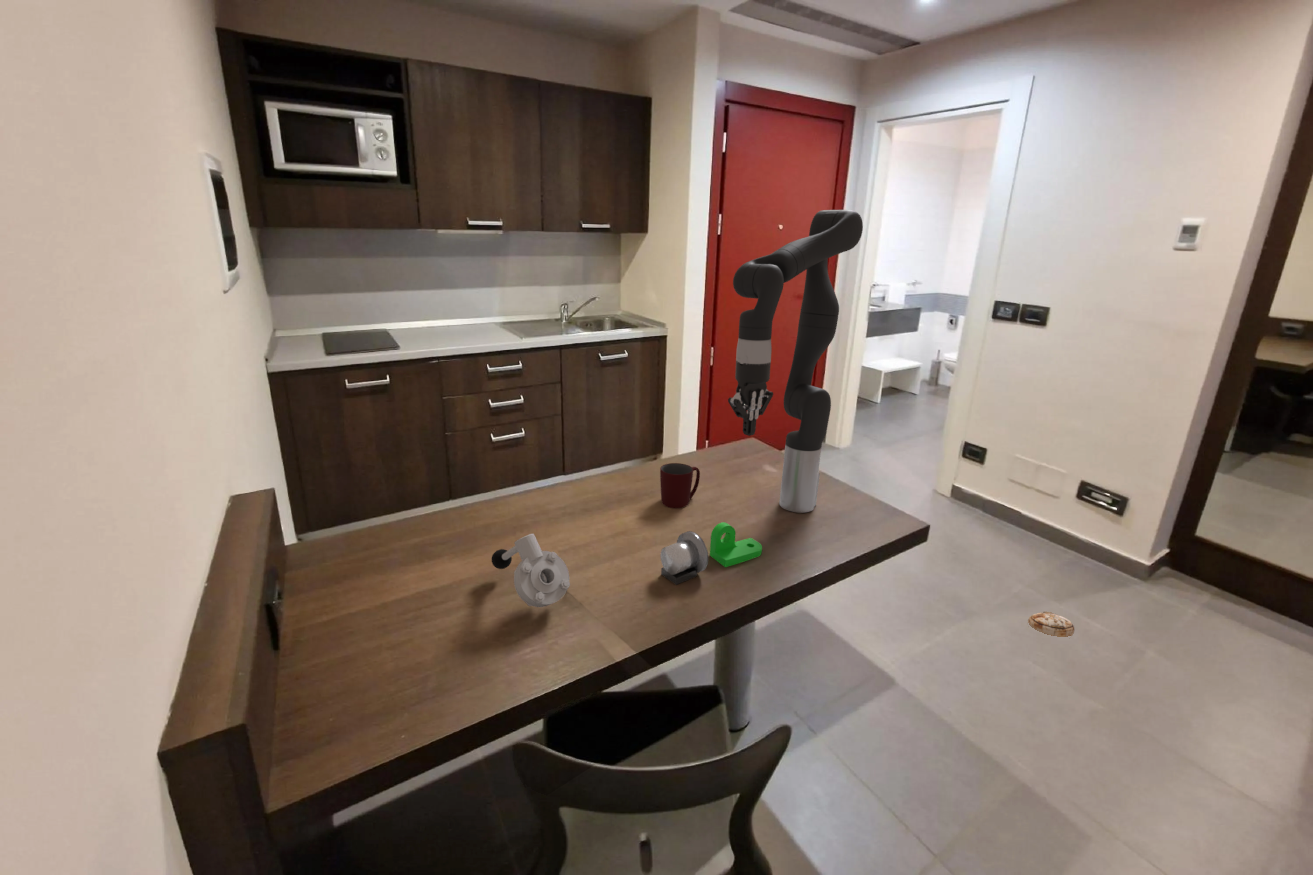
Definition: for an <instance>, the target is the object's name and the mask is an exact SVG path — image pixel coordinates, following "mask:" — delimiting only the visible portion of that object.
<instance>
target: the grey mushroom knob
mask: <svg viewBox="0 0 1313 875" xmlns="http://www.w3.org/2000/svg"><path fill="white" fill-rule="evenodd" d="M660 561H661V565H662V567H661V568H660V574H661V576H663V577H664V578H665V579H667V580H669V582H671V583H672V584H674V585H676V586H677V585H679V584H681V583H684V582H686V581H689V580H691V579H694V578H696V577H697V576H698V575H697V574H699V573H701V572H704V571H705V570H706V569H707V566H708V564H709V552H708V548H707V546H706V543H705V541H704V540H703V538H702V537H701V536H700V535H699V534H698V533H696V532H695V531H691V530H689V531H685V532H682V533H681V534H680V535H679V536H678V537H677V540H676V542H675V543H672V544H670V545H667V546H664V547H662V548H661V551H660Z"/></svg>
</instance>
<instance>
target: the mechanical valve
mask: <svg viewBox="0 0 1313 875" xmlns="http://www.w3.org/2000/svg"><path fill="white" fill-rule="evenodd" d="M516 554H518V555H519V558H520V559H521V561H520V562H519V563H518V565H517V566H516V568H515V570H514V572H513V585H514V590H515V592H516V594H517V596H519V599H521V601H523V602H524V603H526V604H527V606H528V607H535V608H544V607H547V606H550V605H553V604H554V603H557V602H558V601H560V600H561V599H562V598H563V597H564V596H565V595H566V593H567V591H568V589H569V587H570V586H571V583H570V572H569V568H568V566H567V565H566V563H565V561H564V560H563V559H562V558H561V557H560V556H559V555H558V554H557V553H556V552H555V551H548V550H542V548H541V547H540V544H539V542H538V539H537V538H536V536H535V533H529V534H527V535H525V536H523V537H520V538H518V539H517V540H515V541H514V545H513V547H511V548H510V549H508V550H507V549H503V548H500V549H498V550H496V551H494V552H493V554H492V555H491V563H492V566H494V568H496V569H498V570H503V569H507V568H508V567H509V566H510V565H511V563H512V559H513V558H512V557H513V556H514V555H516Z"/></svg>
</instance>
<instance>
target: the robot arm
mask: <svg viewBox="0 0 1313 875" xmlns="http://www.w3.org/2000/svg"><path fill="white" fill-rule="evenodd" d="M863 227H864V224H863V219H862V216H861V214H859V213H858V212H857V211H855V210H852V209H824V210H823V209H821V210H819V211H818V212H816V214H814V216H813V218H812V220H811V223H810V228H809V234H808V236H806V237H802V238H798V239H797V240H796V239H795V240H792V241H790V242H789V243H786V244H785V245H782V246H781V247H779V248H778V249H776V250H775V251H773V252H772V253H770V254H767V255H763V256H760V257H757V258H754V259H751V260H749V261H747V262H745V263H743V264H742V265H740V266H739V267H738V269H737V270H736V271H735V273H734V275H733V280H732V286H733V289H734V291H735V292H736V294H737V295H738V296H740V297H743V298H746V299H757V302H756V304H755V307H754V308H753V309H746V310H743V311H742V312H741V313H740V315H739V322H738V336H737V337H738V339H737V340H738V341H737V345H736V354H735V355H736V356H735V357H736V358H735V371H734V373H735V375H734V376H735V377H734V378H735V380H736V381H737V386H736V388H735V394H734V395H733V397H732V396H731V397H729V398H728V399H727V402H728V404H729V406H730V407H731V410H732V412H733V413H734V414H735V416H736V417H737V418H740V419H742V433H743V435H745V436H748V437H751V436H754V435H755V434H756V430H757V420H758V419H759V416H763V415H764V413H765V411H766V410H767V408H768V406H769V404H770V403H771V400H772V398H773V396H774V392H773V391H770V390H769V389H767V387H768V385H767V383H768V382H769V381H770V378H771V365H772V363H771V362H772V349H773V348H772V334H773V333H772V332H773V320H774V317H775V314H776V311H777V308H778V304H779V301H780V299H781V295H782V293H783V290H784V285H785V284H784V283H787V282H789V281H792V280H793V279H794V278H796V277H797V276H798V275H800V274H801V273H803V272H805V271H806V272H805V273H806V274H805V280H804V287H803V288H804V290H803V296H802V301H801V307H800V313H799V319H798V324H797V334H796V340H795V345H794V346H795V347H794V350H793V351H794V353H793V357H792V364H791V366H790V372H789V375H788V378H787V383H786V386H785V391H784V395H783V409H784V411H785V413H786V415H788V416H789V417H790V418H791V417H792V418H795V419H797V420H799V421H800V424H799V429H798V430H793V431H790V432H788V433H786V437H785V443H784V444H785V447H784V454H783V455H784V456H783V465H782V475H781V483H780V494H779V502H778V503H779V506H780V507H781V508H782V509H784V510H786V511H789V512H794V513H809V512H812V511H813V510H814V509H815V506H817V499H818V491H819V483H820V476H821V473H820V472H819V471H820V464H821V463H820V462H821V461H820V460H821V453H822V447H823V442H824V440H825V438H826V436H827V435H826V434H827V432H828V431H827V430H828V425H829V421H830V415H831V414H830V413H831V409H832V408H831V407H832V398H831V395H830V394H829V392H828V391H827V390H826V389H823V388H821V387H817V386H814V385H812V383H813V382H812V381H813V376H814V372H815V367H816V365H817V363H818V361H819V359H821V356H822V355H823V354H824V353H825V352H826V350H827V348H828V347H829V346H830V345H831V343H832V341H833V340H834V338H835V335H836V332H837V327H838V322H839V314H840V305H839V301H838V297H837V295H836V292H835V290H834V288H833V287H834V286H833V285H832V282H831V279H830V276H829V272H828V271H829V270H828V264H829V263H828V262H829V261H828V260H829V259H830V258H832V257H835V256H837V255H840V254H842V253H846V252H849V251H850V250H852V249H854V248H855V247H856V246H857V245H858V243H859V242H860V240H861V238H862V235H863V230H864V228H863Z"/></svg>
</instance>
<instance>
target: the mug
mask: <svg viewBox="0 0 1313 875" xmlns="http://www.w3.org/2000/svg"><path fill="white" fill-rule="evenodd" d="M659 468H660V469H659V470H660V472H659V477H660V479H659V480H660V481H659V482H660V498H661V500H660V501H661V502H660V503H661V505H663V506H664V507H666V508H670V509H682V508H685V507H688V505H689V504H690V499H692V498H693V496H695V494H696V491H697V489H698V486H699V484H700V478H701V472H700V469H699V467H697V466H690V465H688V464H685V463H677V462H672V463H666V464H663V465H661V466H660V467H659ZM694 471H696V472H695V473H696V474H695V482H694V485H692V484H693V477H694V476H693V475H694ZM692 486H693V488H692Z"/></svg>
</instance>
